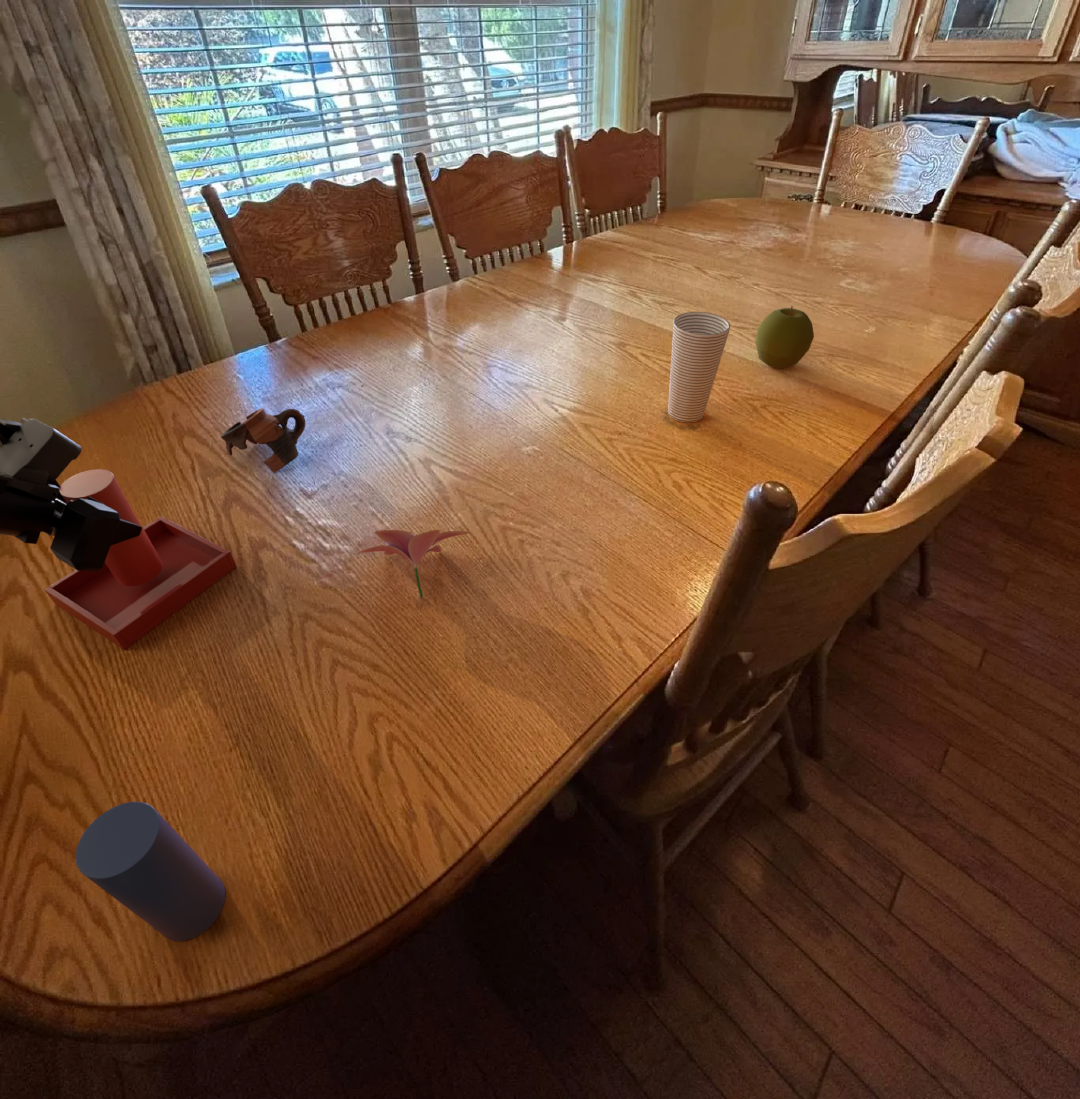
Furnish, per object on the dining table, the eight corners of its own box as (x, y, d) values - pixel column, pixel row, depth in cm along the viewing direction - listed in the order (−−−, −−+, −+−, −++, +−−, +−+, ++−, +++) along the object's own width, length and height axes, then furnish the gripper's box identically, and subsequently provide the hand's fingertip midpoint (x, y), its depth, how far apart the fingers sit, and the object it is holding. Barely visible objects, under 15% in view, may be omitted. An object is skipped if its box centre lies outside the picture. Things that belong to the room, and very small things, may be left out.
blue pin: (167, 956, 48) (82, 896, 39) (151, 899, 51) (68, 831, 42) (233, 912, 50) (168, 845, 41) (214, 860, 53) (149, 787, 44)
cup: (716, 427, 102) (736, 335, 92) (663, 427, 102) (678, 335, 91) (705, 400, 108) (723, 311, 98) (656, 400, 108) (669, 311, 98)
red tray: (124, 650, 69) (113, 635, 67) (55, 604, 74) (43, 589, 72) (237, 566, 79) (230, 551, 77) (169, 530, 83) (161, 515, 82)
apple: (795, 381, 113) (813, 321, 106) (743, 367, 117) (757, 309, 110) (810, 359, 120) (828, 301, 112) (759, 347, 123) (773, 290, 116)
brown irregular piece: (259, 487, 91) (218, 440, 87) (250, 481, 99) (212, 438, 95) (326, 438, 95) (290, 391, 91) (312, 436, 103) (278, 393, 99)
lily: (487, 572, 79) (470, 498, 77) (446, 609, 69) (425, 524, 66) (405, 579, 84) (387, 510, 81) (355, 615, 73) (332, 536, 70)
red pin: (150, 587, 73) (96, 498, 64) (107, 585, 73) (48, 497, 64) (170, 557, 76) (122, 469, 67) (130, 556, 76) (77, 468, 68)
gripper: (46, 443, 53) (205, 482, 67) (-65, 386, 60) (100, 432, 74) (1, 567, 53) (169, 578, 68) (-104, 496, 60) (68, 520, 75)
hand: (125, 522), depth 71 cm, fingers closed on red pin, 5 cm apart
